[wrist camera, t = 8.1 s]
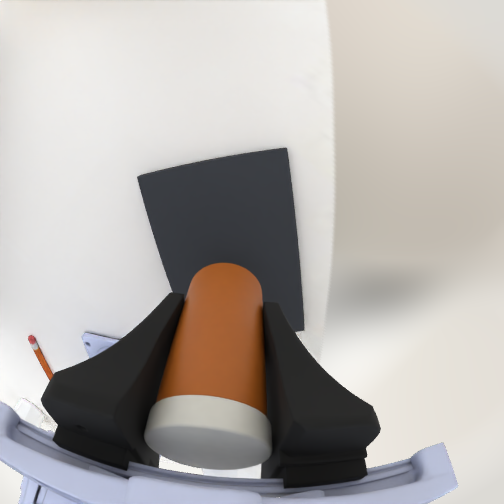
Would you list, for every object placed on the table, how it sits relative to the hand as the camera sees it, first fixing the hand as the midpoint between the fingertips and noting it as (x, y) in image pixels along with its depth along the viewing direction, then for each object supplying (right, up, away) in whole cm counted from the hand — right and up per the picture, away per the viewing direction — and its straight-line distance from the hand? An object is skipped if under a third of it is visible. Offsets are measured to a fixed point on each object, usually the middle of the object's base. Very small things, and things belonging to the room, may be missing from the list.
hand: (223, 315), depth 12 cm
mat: (0, +2, +4) cm, 5 cm away
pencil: (-22, -13, +13) cm, 29 cm away
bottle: (0, +1, +1) cm, 2 cm away
